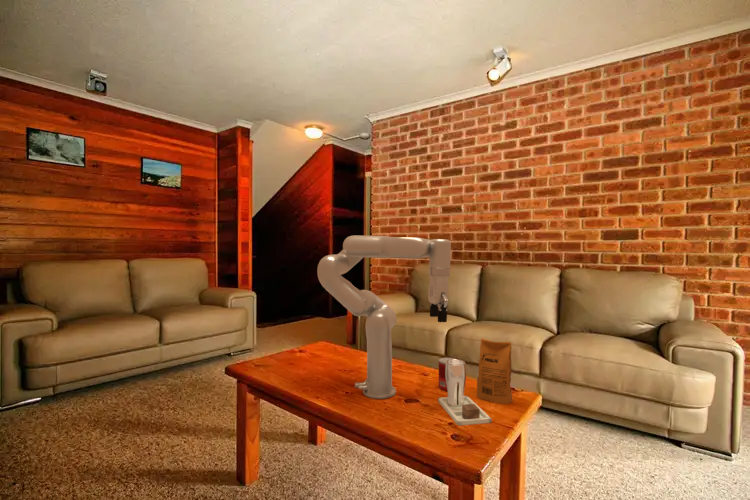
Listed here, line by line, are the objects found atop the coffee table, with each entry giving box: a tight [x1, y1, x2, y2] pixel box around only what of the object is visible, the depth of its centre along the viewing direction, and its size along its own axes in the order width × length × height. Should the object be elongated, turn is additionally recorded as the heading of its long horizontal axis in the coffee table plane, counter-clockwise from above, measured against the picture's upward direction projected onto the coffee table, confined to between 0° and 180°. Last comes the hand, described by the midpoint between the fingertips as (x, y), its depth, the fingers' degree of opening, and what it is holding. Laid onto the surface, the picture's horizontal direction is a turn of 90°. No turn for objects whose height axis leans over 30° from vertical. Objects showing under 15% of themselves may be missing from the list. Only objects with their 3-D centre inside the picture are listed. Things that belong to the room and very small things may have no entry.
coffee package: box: [476, 338, 513, 405], centre depth 132 cm, size 10×12×22 cm
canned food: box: [438, 357, 455, 392], centre depth 144 cm, size 8×8×11 cm
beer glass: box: [445, 358, 467, 409], centre depth 125 cm, size 7×7×15 cm
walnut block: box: [462, 403, 480, 419], centre depth 115 cm, size 4×4×4 cm
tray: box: [437, 395, 492, 426], centre depth 121 cm, size 11×18×2 cm, turn 10°
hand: (437, 319), depth 133 cm, fingers open, 9 cm apart
